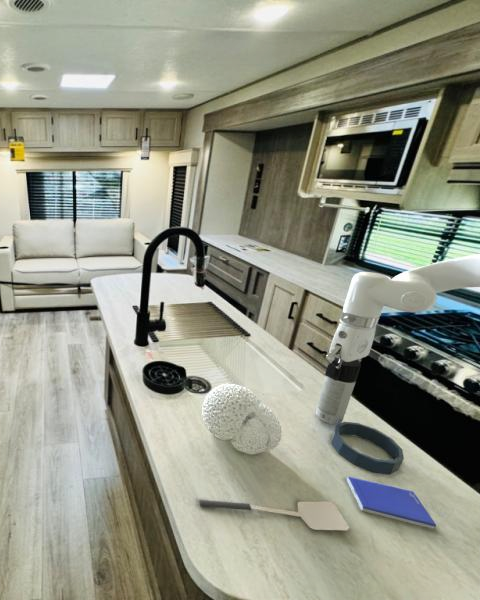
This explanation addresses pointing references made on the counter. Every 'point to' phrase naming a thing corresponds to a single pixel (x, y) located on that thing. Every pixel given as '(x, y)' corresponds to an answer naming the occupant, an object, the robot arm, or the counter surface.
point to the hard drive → (390, 502)
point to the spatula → (297, 513)
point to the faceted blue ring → (362, 459)
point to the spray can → (337, 393)
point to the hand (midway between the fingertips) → (340, 374)
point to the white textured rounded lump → (241, 419)
